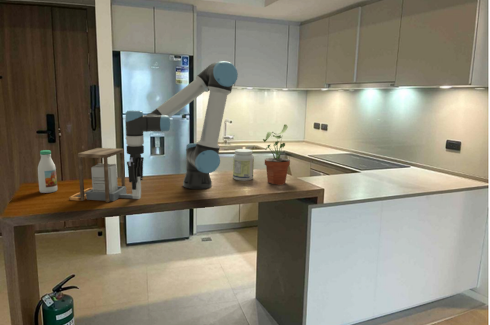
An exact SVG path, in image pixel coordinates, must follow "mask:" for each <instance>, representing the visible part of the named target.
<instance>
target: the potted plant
mask: <svg viewBox="0 0 490 325" xmlns="http://www.w3.org/2000/svg"><path fill="white" fill-rule="evenodd" d="M286 131H288V125H287V124H284V125H283V128H282V129H281V131H280V132H279V133H278V135H276V133H275V132H274V131H272V132H271V131H268V132H267V133H266V135H265V139H264V138H263V139H262V140H263V143H266V142H267V141H268V140H269V138H271V136H272V137H274V138H275V139H277V141H274V143H273V147H274V151H273V150H272V148H271V145H272V144H271V143H270V144H268V145H267V146H266V147H265V149H264V150H265V151H267V149H269V151H270V152H271V153H272V157H267V158H264V165H265V168H266V178H267V179H266V180H267V183H270V184H271V185H272V184H273V185H279V186H282V185H285V184H286V183H287V182H286V181H287V176H288V170H289V166H290V165H291V160H290V159H288V158H285V157H284V158H283V157H281V154H282V150H283V148H284V147H285V146H286V142H280V141H282V139H283V138H282V135H283V134H284V133H286ZM280 139H281V140H280ZM279 143H280V145H279V148H278V144H279Z"/></svg>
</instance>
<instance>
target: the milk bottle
mask: <svg viewBox="0 0 490 325" xmlns="http://www.w3.org/2000/svg"><path fill="white" fill-rule="evenodd" d="M39 154H40V159H39V162H38V164H37V165H38V166H37V177H38V178H37V179H38V189H39V190H38V191H39V193H40V194H42V193H43V194H45V193H46V194H48V193H55V192H57V191H58V180H57V179H58V178H57V177H58V176H57V170H56V169H57V167H56V164H55V163H54V161H53V159H52V151H51V150H49V149H45V150H44V149H43V150H40V151H39Z"/></svg>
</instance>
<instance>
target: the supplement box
mask: <svg viewBox="0 0 490 325" xmlns="http://www.w3.org/2000/svg"><path fill="white" fill-rule="evenodd" d="M90 169H91V186H92V187H91V188H93V192H104V193H105V179H104V163H101V164H98V163H97V164H96V165H93V166H92V167H90ZM108 180H109V193H113V192H115V191H117V190H118V186H119V185H118V168H117V164H116V163H108Z"/></svg>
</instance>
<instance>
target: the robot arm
mask: <svg viewBox="0 0 490 325" xmlns="http://www.w3.org/2000/svg"><path fill="white" fill-rule="evenodd" d="M238 75H239V74H238V70H237V68H236V66H235V65H234V64H233V63H232V62H229V61H226V60H220V61H217V62H213V63H211V64H209V65H208V66H206V68H204V69H203V70H202V71H201V72H200V73H199V74H197V75H195V79H193V81H192V82H190V83H189V84H187V85H186V86H184V87H183V88H182V89H180V90H179V91H178V92H176V94H174V95H173V96H171V97H169V99H167V100H166V101H164V102H163V103H161V104H160V105H159V106H158V107H157V108H155V109H153V111H151V112H149V113H147V114H146V115H145V114H144V112H143V111H142V110H135V109H134V110H127V111H126V112H125V120H124V121H125V142H126V143H125V144H126V148H125V149H126V154H127V155H129V161H126V166H127V173H128V181H129V183H131V194H132V196H138V182H137V177H140V185H141V186H142V181H143V180H144V160H145V158H144V157H142V155H143V154H144V152H145V146H144V143H145V140H144V137H145V136H144V133H145V132H146V133H148V132H150V133H151V132H152V133H153V132H158V133H159V132H161V133H163V132H169V131H170V130H171V119H170V118H172V117H173V116H174V115H176V114H177V113H178V112H179V111H181V110H183V109H184V108H185V107H187V105H189V104H190V103H192V102H193V101H194V100H195V99H197V98H198V97H200V96H201V95H202V94H203V93H205V92H206V93H208V92H209V95H208V100H207V105H206V110H205V115H204V120H203V124H202V131H201V135H200V139H199V140H198V141H197V142H196V143H187V144H186V149H185V153H186V154H185V155H186V156H185V157H186V158H185V160H186V162H185V164H186V169H185V170H186V172H185V176H184V178H183V181H182V182H183V183H182V186H183V188H186V189H189V190H204V189H208V188H211V187H212V186H213V185H212V184H213V182H212V178H211V176H210V174H211V173H214V172H215V171H217V169H218V168H219V167H220V164H221V157H220V154H219V153H220V149H221V148H220V145H219V137H220V133H221V128H222V123H223V118H224V112H225V107H226V103H227V99H228V95H230V94H231V93H232V89H233V86H234V85H235V84H236V83H237V80H238V78H239V76H238Z"/></svg>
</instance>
